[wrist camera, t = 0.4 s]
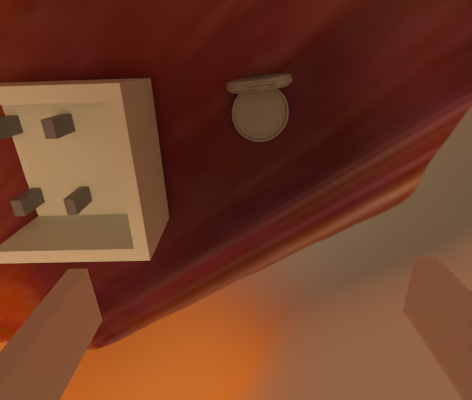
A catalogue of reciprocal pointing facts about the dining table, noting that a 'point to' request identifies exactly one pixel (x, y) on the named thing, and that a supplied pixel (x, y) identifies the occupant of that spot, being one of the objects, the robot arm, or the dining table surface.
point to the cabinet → (85, 170)
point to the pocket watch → (260, 106)
